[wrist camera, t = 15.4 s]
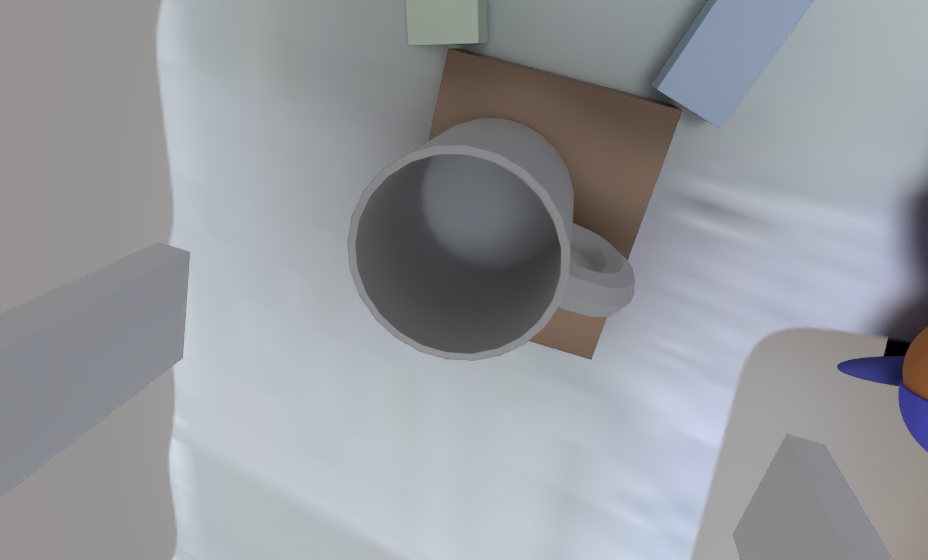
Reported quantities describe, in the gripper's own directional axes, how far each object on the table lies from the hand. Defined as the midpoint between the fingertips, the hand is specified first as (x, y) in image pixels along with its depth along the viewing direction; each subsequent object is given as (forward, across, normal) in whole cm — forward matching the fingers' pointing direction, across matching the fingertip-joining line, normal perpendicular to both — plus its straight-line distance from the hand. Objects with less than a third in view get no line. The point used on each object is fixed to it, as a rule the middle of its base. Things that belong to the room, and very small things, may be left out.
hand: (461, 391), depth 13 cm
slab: (+18, 0, 0) cm, 18 cm away
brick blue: (+19, +6, +9) cm, 21 cm away
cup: (+16, 0, 0) cm, 16 cm away
